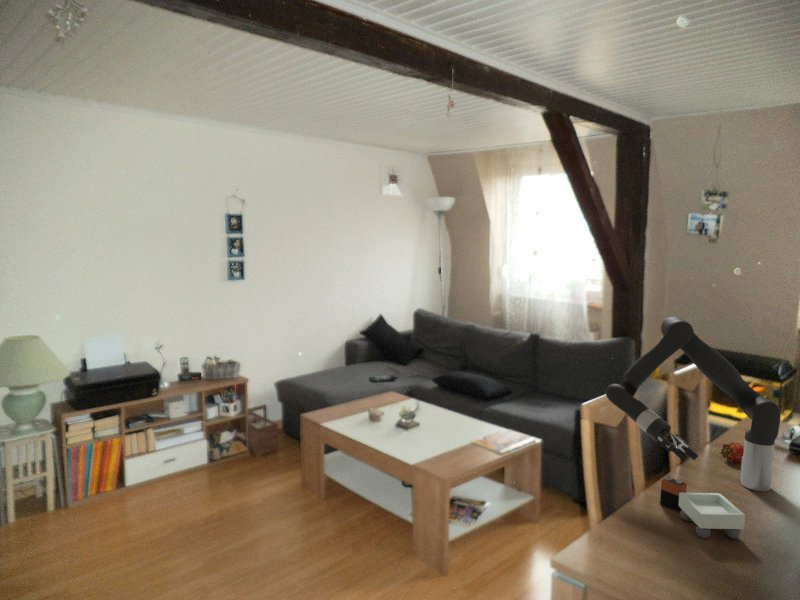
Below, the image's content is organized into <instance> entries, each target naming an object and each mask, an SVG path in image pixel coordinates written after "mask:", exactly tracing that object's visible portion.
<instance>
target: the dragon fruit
mask: <svg viewBox="0 0 800 600" xmlns="http://www.w3.org/2000/svg"><path fill="white" fill-rule="evenodd" d="M743 453H744V445H741V443H739V442H729V443H724V444H723V445H722V448H721V451H720V454H721V455H722V457H723V459H724V458H725V459H727V462H729V463H731V464H732V463H735V462H736V463H739V464H741V463H742V456H743Z"/></svg>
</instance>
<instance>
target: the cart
mask: <svg viewBox="0 0 800 600" xmlns="http://www.w3.org/2000/svg"><path fill="white" fill-rule="evenodd" d="M678 506H679V507H680V508H681V509H682V510H681V511H680V512H679V515H680V517H681V518H682V519H683V520H684V521H687V522H691V521H692V522H694V524H696V527H695V532H696V535H698V537H700V538H703V539H706V538H709V537H710V536H711V530H712V529H715V530H725V534H726V535H727V537H728V538H731V539H734V540H735V539H738V538H739V537H741V534H742V532H741V530H745V526H746V523H745V522H746V514H745V513H744V512H743V511H741V510H740V509H739V508H738V507H737V506H736V505H734V504H733V503H732V502H731V501H730V500H728V499H727V498H726V497H725V496H724V495H722V493H720V492H719V493H718V492H686V493H679V505H678Z"/></svg>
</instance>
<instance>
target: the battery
mask: <svg viewBox="0 0 800 600" xmlns="http://www.w3.org/2000/svg"><path fill="white" fill-rule="evenodd" d="M687 486H688V485H687V483H686V482H684V481H683V480H682V479H678V478H677V479H675V478H673V477H672V476H668V475H667V476H666V477H665V478H662V479H661V485H660V495H659V497H660V498H659V499H660V500H659V504H660V506H663V507H665V508H668V509H670V510H673V511H676V512H677V511H678V512H677V513H680V512H681V510H682V509H681V508H680V507H679V506H678V505H679V493H687V489H688V488H687Z"/></svg>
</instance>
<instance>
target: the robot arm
mask: <svg viewBox="0 0 800 600" xmlns="http://www.w3.org/2000/svg"><path fill="white" fill-rule="evenodd" d="M660 331H661V334H662V338H661V339H660V341H659V342H658V343H657V344H656V345H655V346H653V348H652V349H650V350H648V351H647V352H646V353H644V354H643V355H641V356H640V357H638V359H636V360H635V361H634V362H633V363H632V364H631V365H630V366H629V367H628V369H627V370H626V371H625V372H624V373H623V379H622V381H621V382H620V384H619V383H612V384H609V385H608V386H607V387H606V389H605V395H606V398H607V400H608V401H609V402H611V404H613V405H614V407H617V408H618V409H620V411H622V412H624V413H625V414H626V415H627V416H628V417H629V418H630V419H631V420H632V421H634V423H636V424H637V426H638V427H639V428H640V429H641V430H642V431H643V432H644V433H646V435H647V436H649V438H650V439H652V440H653V441H654V442H658V444H660V445H661V446H662V447H663V448H664V449H665V450H666V451H667V452H668V453H672V454H674V455H675V456H676V457H677V458H679V459H680V460H681V461H682V462H686V460H687V459H688V458H689V457H690V458H691V459H692V460H693V461H695V460H697V459H698V458H699V455H698V454H697V453H696V452H695V451H694V450H693V449H691V445H690V443H689V442H687V441H686V440H685V439H683V438H682V437H681V436H680V435H679V434H677V433H675V434H674V433H672V432H671V430H672V426H671V425H670V424H669V423H668V422H667V421H666V420H664V419H663V418H662V417H661V416H659V414H657V413H656V412H655V411H653V410H652V409H650V408H649V407H648V406H647V405H646V404H644V402H643V401H641V400H639V399H637V398H636V397H635V395H636V393H637V391H638V390H639V388H640V387H641V386H642V385H643V384H644V383H645V382H646V381H647V379H649V377H650V376H651V375H652V374H653V373H654V372H655V371H656V370H657V369H658V368H659V367H660V366H661V365H662V364H663V363H664V362H665V361H667V360H668V359H669V358H670V357H672V356H673V355H674V354H675V353H677V352H678V351H679V350H681V351H682V352H683V353H684V354H685V355H686V356H687V357H688V358H689V359H690V360H691V362H692V363H693V364H694V366H696V367H697V369H698V370H700V372H701V373H702V375H704V376H705V377H706V378H707V379H708V380H710V382H711V383H713V384H714V385H715V386H716V387H717V388H719V390H721V391H722V392H723V393H725V394H727V395H728V396H729V397H730V398H731V399H732V400H733V401H734V402H735V404H737V406H738V407H739V408H740V410H741V411H742V412H743V413H744V414H745V416H747V417H748V418H749V419H750V420H751V423H750V424H751V425H750V426H751V427H750V429H748V430H746V431H745V432H744V440H743V441H744V443H743V446H744V453H743V456H742V463H740V477H739V481H740V484H741V485H742V486H743V487H745V488H747V489H750V490H751V491H752V490H753V491H756V492H769V491H770V490H771V486H772V476H773V466H774V465H773V464H774V454H775V444H776V439H777V438H778V435H779V430H780V424H781V418H782V416H781V415H782V413H781V409H780V407H779V406H778V404H776V403H775V402H774V401H772V400H771V399H768V398H767V397H765V396H763V395H762V394H761V393H759V392H758V391H756V390H754V389H753V388H752V387H751V386H749V385H748V383H746V382H745V380H744V379H743V377H742V375H741V373H740V372H739V371H738V369H737V368H736V367H735V366H734V365H733V364H732V363H731V362H730V361H729V360H728V359H727V358H726V357H724V356H723V355H722V354H721V353H719V352H718V351H717V349H714V348H713V347H711V346H710V345H709V344H707V343H706V342H704V341H703V340H702V339H701V338H699V336H698V335H697V334H696V333H695V332H694V328H693V325H691V323H689V321H686V320H685V319H683V318H682V317H679V316H669V317H666V318H664V320H662V322H661V325H660Z"/></svg>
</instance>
